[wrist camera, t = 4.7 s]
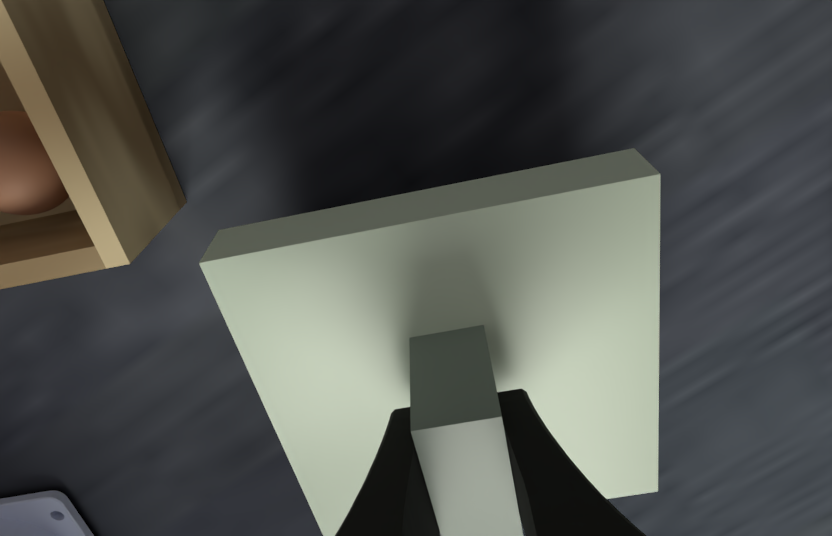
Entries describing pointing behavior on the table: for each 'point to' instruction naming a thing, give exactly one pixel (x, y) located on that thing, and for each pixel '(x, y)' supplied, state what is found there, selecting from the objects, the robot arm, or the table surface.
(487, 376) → the lid
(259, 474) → the table surface
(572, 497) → the robot arm
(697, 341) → the table surface
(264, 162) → the table surface
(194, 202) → the table surface
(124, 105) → the box
